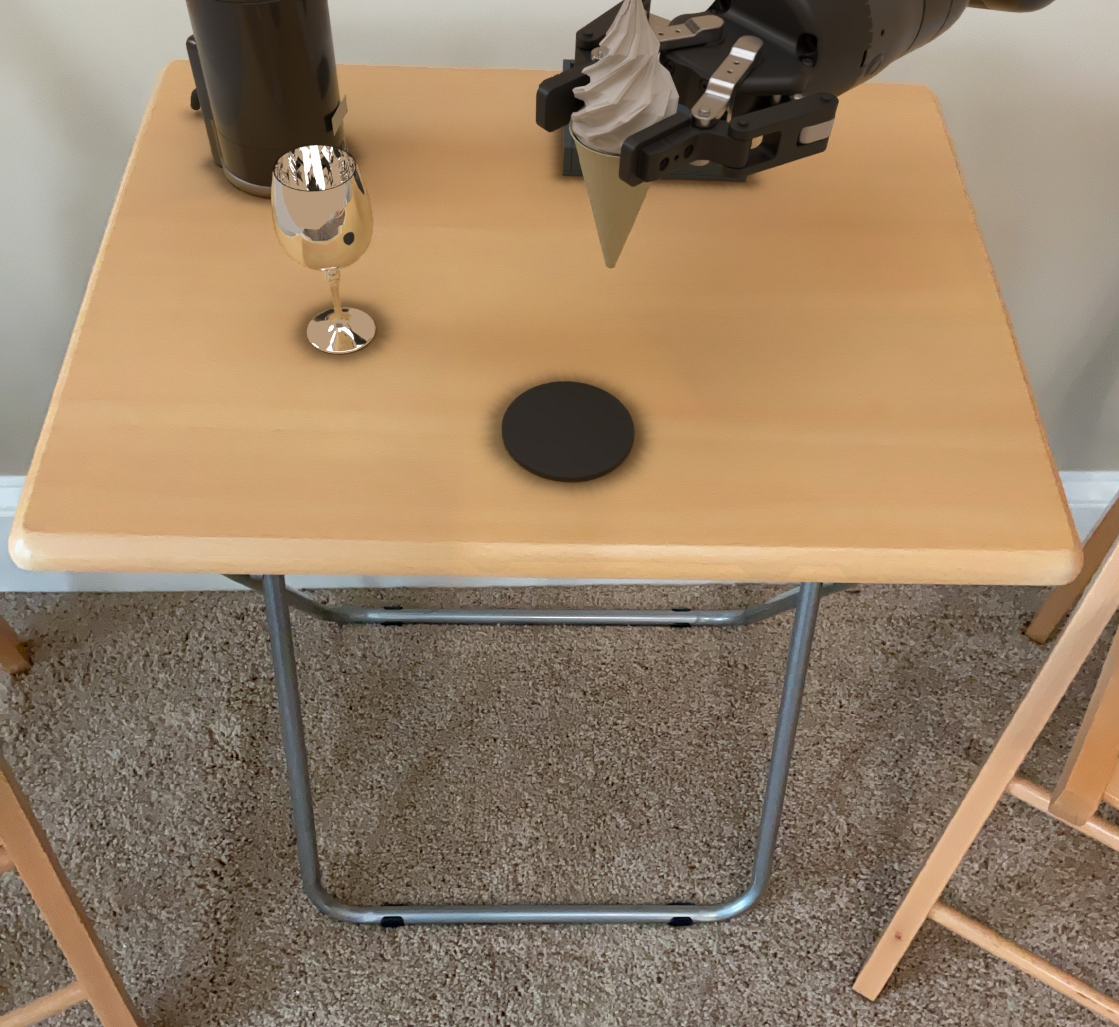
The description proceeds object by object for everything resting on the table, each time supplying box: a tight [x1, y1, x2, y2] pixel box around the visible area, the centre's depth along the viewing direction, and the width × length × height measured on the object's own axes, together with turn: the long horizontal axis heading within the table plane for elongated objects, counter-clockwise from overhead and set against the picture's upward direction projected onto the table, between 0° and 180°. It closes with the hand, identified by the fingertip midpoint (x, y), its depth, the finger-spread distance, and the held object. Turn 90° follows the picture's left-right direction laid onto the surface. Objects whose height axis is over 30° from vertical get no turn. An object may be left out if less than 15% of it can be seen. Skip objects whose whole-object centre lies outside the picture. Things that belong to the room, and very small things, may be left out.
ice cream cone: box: [569, 0, 679, 269], centre depth 50 cm, size 5×5×15 cm
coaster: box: [501, 380, 635, 483], centre depth 63 cm, size 8×8×1 cm
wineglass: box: [270, 145, 377, 355], centre depth 63 cm, size 6×6×12 cm
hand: (583, 137), depth 48 cm, fingers closed on ice cream cone, 5 cm apart
